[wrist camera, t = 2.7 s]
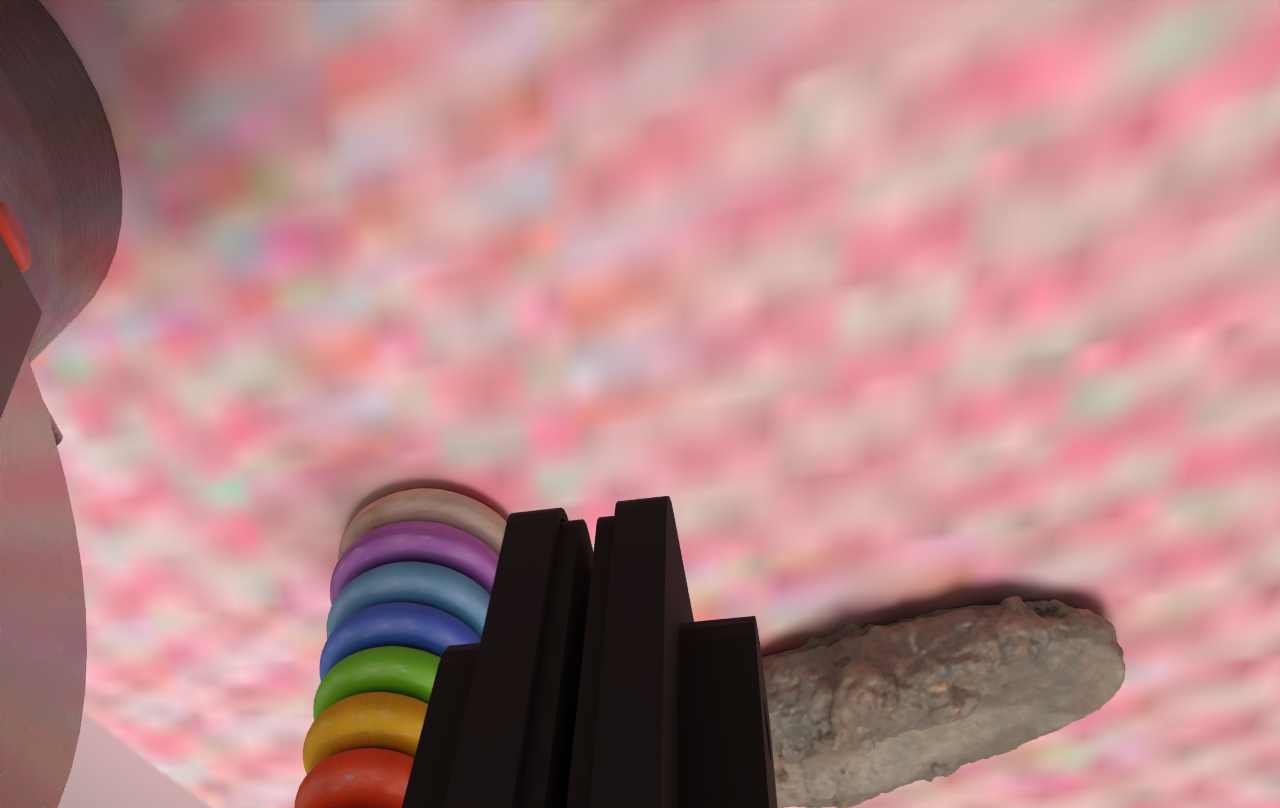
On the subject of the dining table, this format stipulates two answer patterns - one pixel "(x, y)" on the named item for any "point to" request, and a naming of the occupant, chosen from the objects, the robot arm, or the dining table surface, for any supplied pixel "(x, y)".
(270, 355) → the dining table surface
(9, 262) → the cooker lid
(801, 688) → the elongated rock
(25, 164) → the cooker pot
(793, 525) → the dining table surface
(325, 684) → the stacking toy
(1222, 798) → the dining table surface
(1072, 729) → the dining table surface
